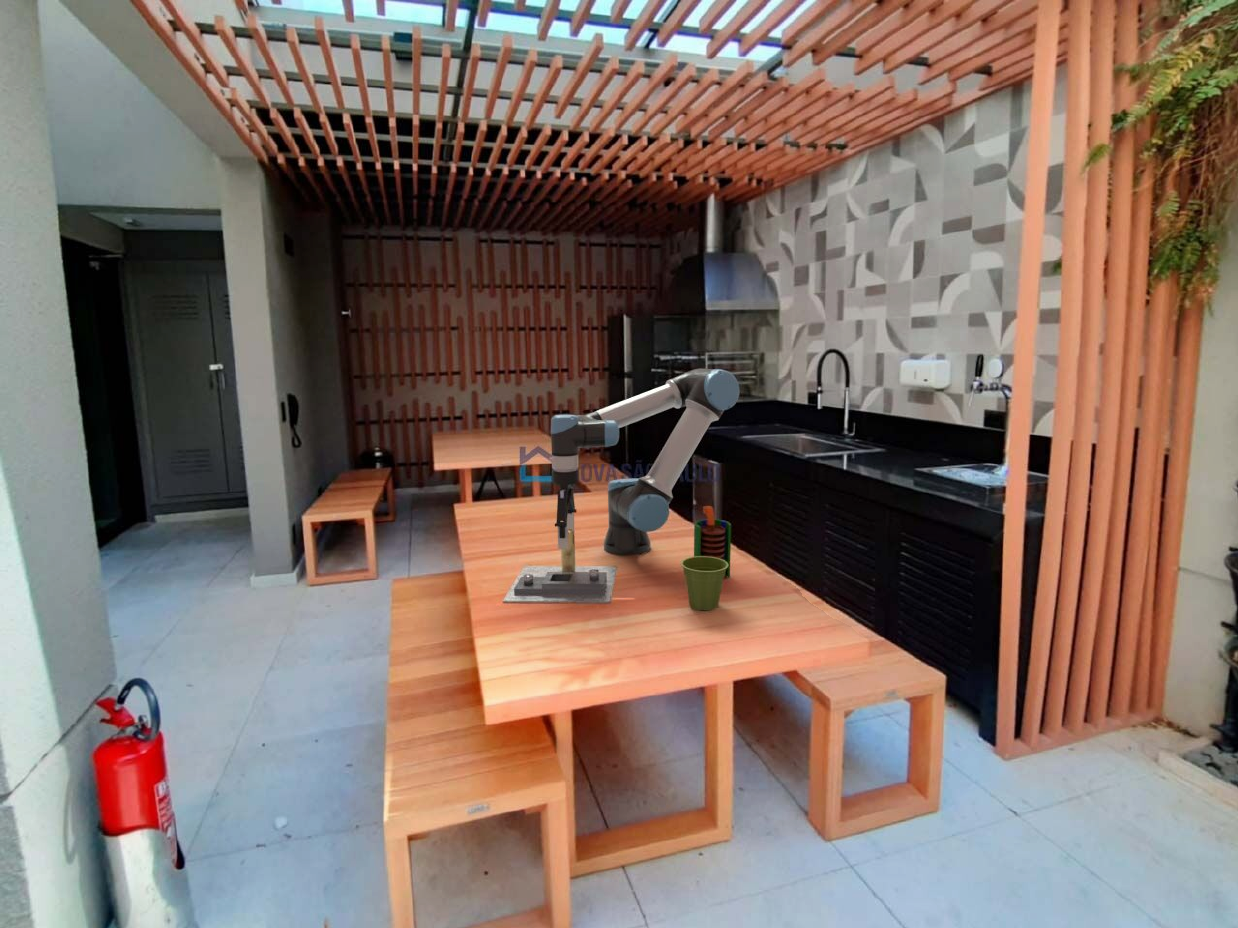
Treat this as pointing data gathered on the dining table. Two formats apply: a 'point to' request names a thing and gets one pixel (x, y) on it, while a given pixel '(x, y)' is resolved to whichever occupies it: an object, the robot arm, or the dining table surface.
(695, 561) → the plant pot
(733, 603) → the dining table surface
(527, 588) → the square hole fixture plate
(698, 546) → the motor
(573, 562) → the brass pin
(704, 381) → the robot arm
